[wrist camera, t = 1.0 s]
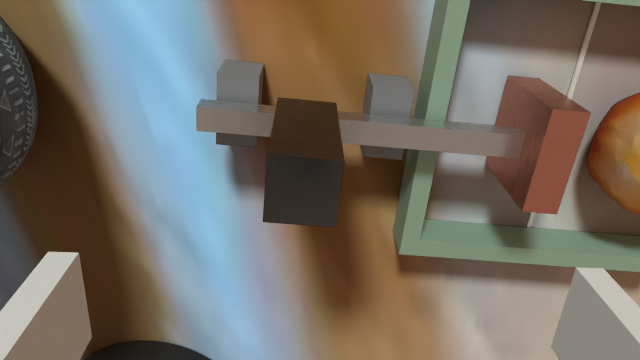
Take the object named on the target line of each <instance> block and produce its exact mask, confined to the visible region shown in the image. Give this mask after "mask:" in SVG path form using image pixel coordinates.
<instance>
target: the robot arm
mask: <svg viewBox="0 0 640 360" xmlns="http://www.w3.org/2000/svg"><path fill="white" fill-rule="evenodd" d="M91 338H92V333H91V327H90V320H89V314H88V308H87V301H86V295H85V289H84V282H83V276H82V270H81V263H80V257H79V253H75V252H48V253H47V254H46V255H45V256H44V257H43V259H42V260H41V261H40V262H39V264H38V265H37V266H36V267H35V269H34V270H33V271H32V272H31V274H30V275H29V276H28V277H27V279H26V280H25V281H24V282H23V284H22V285H21V286H20V287H19V289H18V290H17V291H16V292H15V294H14V295H13V296H12V297H11V299H10V300H9V301H8V302H7V304H6V305H5V306H4V307H3V309H2V310H1V311H0V360H80V359H81V357H82V355H83V353H84V351H85V349H86V348H87V346H88V344H89V342H90V340H91ZM551 347H552V349H553V350H554V352H555V353H556V355H557V357H558V358H559V360H640V308H639V307H638V305H637V304H636V303H635V302H634V301H633V300H632V299H631V298H630V297H629V296H628V295H627V293H626V292H625V291H624V290H623V289H622V288H621V287H620V286H619V285H618V284H617V283H616V281H615V280H614V279H613V278H612V277H611V276H610V275H609V274H608V273H607V272H606V271H605V270H604V268H577V267H576V269H575V272H574V275H573V278H572V282H571V285H570V288H569V291H568V294H567V298H566V301H565V304H564V307H563V311H562V314H561V317H560V320H559V323H558V327H557V330H556V333H555V336H554V339H553V343H552V346H551ZM84 360H210V359H209V358H207V357H205V356H204V355H202V354H200V353H198V352H195V351H193V350H191V349H188V348H185V347H182V346H179V345H175V344H171V343H166V342H159V341H130V342H124V343H119V344H115V345H111V346H108V347H105V348H103V349H101V350H99V351H97V352H95V353H93V354H91V355H90V356H88V357H87V358H86V359H84Z"/></svg>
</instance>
